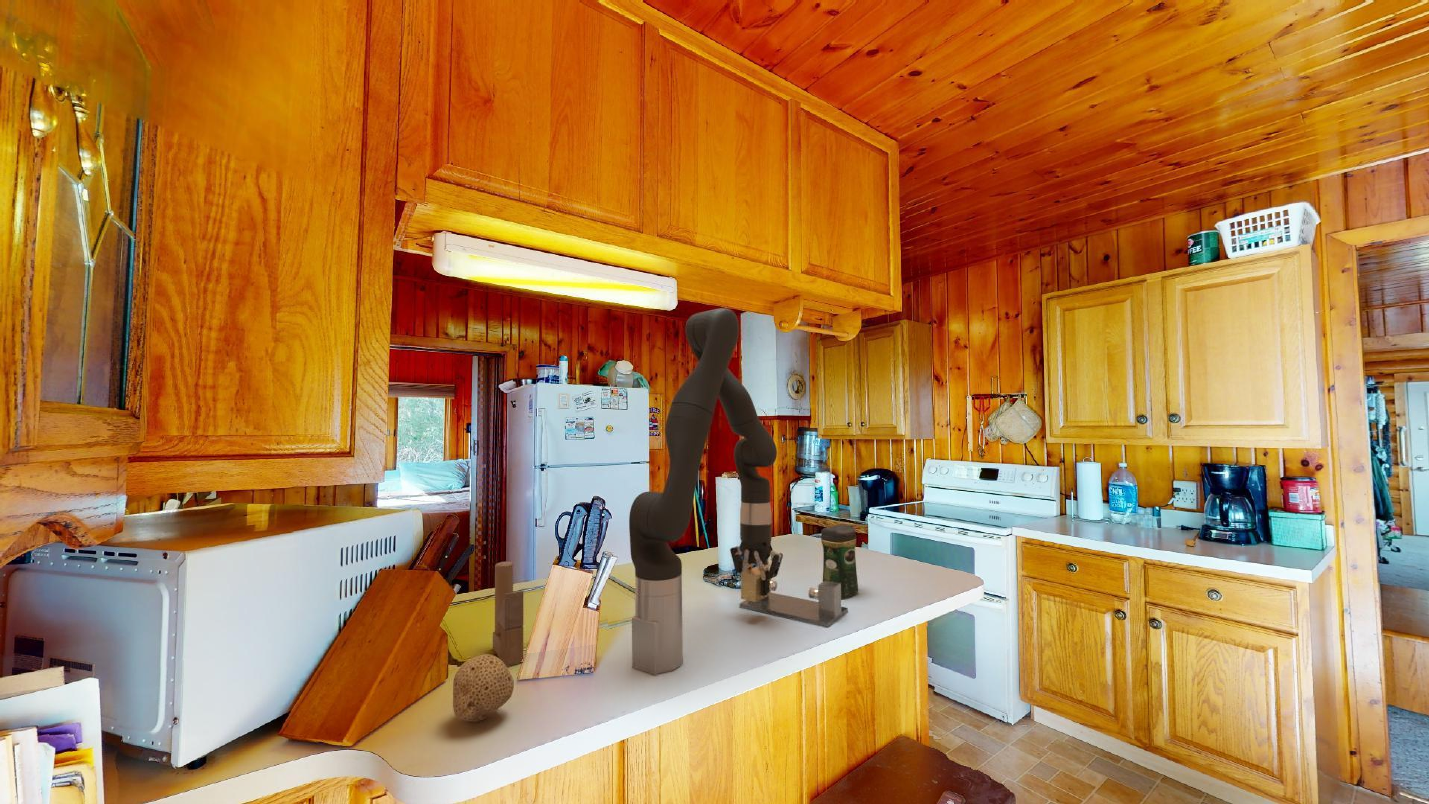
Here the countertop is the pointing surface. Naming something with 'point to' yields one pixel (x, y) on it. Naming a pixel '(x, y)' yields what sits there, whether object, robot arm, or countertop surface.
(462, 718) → the natural sponge
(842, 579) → the coffee jar
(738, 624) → the countertop surface
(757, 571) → the block
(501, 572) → the wooden block
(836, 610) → the stand
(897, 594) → the countertop surface
